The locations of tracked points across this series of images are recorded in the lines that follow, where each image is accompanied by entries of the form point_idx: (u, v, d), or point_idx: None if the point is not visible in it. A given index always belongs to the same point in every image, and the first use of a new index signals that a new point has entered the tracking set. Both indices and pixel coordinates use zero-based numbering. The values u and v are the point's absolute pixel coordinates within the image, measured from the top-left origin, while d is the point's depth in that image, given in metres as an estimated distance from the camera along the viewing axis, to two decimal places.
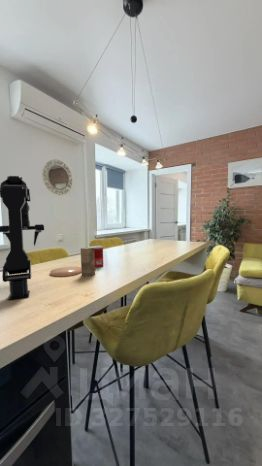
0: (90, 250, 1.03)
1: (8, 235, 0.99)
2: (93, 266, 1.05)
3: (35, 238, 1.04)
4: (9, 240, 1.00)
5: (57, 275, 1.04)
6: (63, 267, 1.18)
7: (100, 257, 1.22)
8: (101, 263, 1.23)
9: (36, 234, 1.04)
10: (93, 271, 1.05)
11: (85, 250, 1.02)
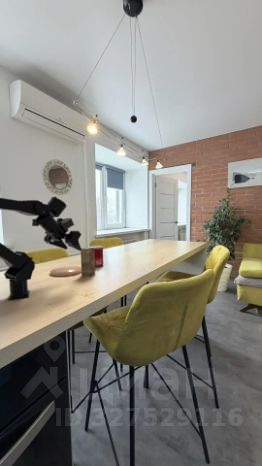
0: (90, 250, 1.03)
1: (54, 245, 0.97)
2: (93, 266, 1.05)
3: (74, 248, 0.92)
4: None
5: (57, 275, 1.04)
6: (63, 267, 1.18)
7: (100, 257, 1.22)
8: (101, 263, 1.23)
9: (71, 246, 0.90)
10: (93, 271, 1.05)
11: (85, 250, 1.02)
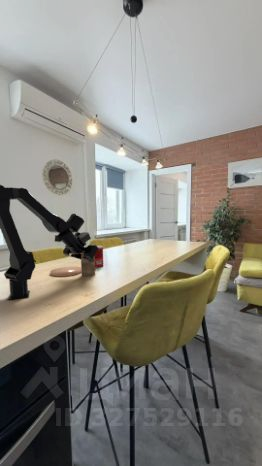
0: None
1: (75, 257, 1.04)
2: (93, 266, 1.05)
3: None
4: None
5: (57, 275, 1.04)
6: (63, 267, 1.18)
7: (100, 257, 1.22)
8: (101, 263, 1.23)
9: (86, 259, 1.00)
10: (93, 271, 1.05)
11: None
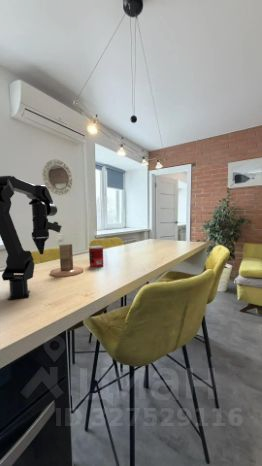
0: (69, 246, 1.10)
1: None
2: (72, 261, 1.12)
3: (36, 246, 0.88)
4: None
5: (57, 275, 1.04)
6: None
7: (100, 257, 1.22)
8: (101, 263, 1.23)
9: (34, 241, 0.87)
10: (72, 266, 1.12)
11: (66, 246, 1.08)
